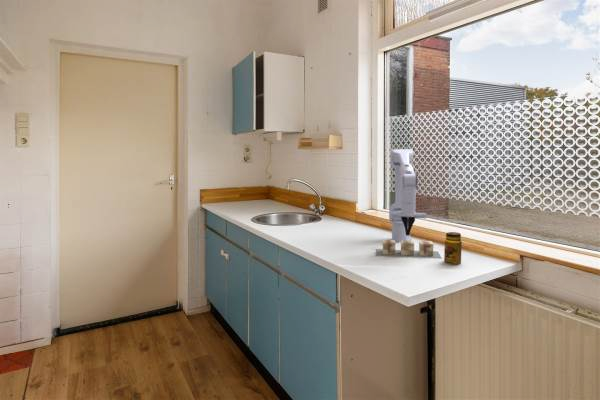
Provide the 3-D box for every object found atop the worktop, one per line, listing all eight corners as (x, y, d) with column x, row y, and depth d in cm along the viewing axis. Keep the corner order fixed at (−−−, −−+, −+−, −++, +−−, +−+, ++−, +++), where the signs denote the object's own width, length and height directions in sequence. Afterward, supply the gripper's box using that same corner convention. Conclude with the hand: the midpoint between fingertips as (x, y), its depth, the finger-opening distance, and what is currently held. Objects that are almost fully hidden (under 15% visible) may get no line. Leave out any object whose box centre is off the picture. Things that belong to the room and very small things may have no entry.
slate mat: (437, 252, 164) (437, 251, 164) (441, 259, 154) (442, 258, 153) (375, 250, 169) (375, 249, 169) (375, 257, 159) (375, 255, 159)
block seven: (431, 253, 162) (431, 241, 161) (433, 256, 157) (433, 244, 156) (419, 252, 163) (419, 240, 162) (420, 255, 158) (420, 243, 157)
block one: (394, 251, 165) (394, 239, 164) (395, 254, 160) (395, 242, 159) (382, 251, 166) (382, 239, 165) (382, 254, 161) (383, 242, 160)
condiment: (442, 265, 146) (443, 234, 145) (443, 259, 154) (444, 230, 153) (462, 267, 143) (464, 235, 142) (463, 261, 151) (464, 231, 150)
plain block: (412, 252, 163) (413, 240, 163) (413, 255, 158) (414, 243, 158) (400, 251, 164) (400, 240, 164) (401, 254, 159) (401, 243, 159)
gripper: (390, 203, 156) (390, 236, 158) (427, 204, 153) (427, 237, 155) (390, 201, 163) (389, 233, 165) (425, 201, 160) (424, 233, 162)
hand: (407, 235), depth 160 cm, fingers closed
